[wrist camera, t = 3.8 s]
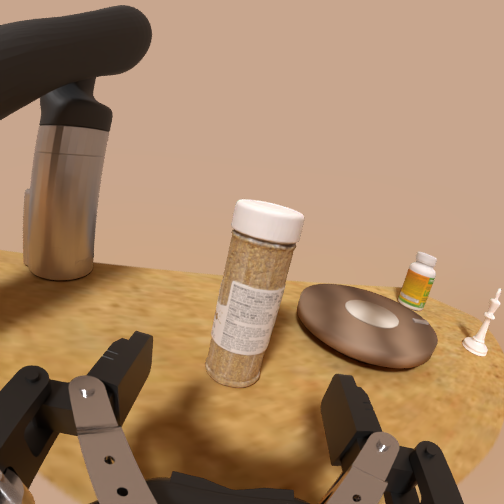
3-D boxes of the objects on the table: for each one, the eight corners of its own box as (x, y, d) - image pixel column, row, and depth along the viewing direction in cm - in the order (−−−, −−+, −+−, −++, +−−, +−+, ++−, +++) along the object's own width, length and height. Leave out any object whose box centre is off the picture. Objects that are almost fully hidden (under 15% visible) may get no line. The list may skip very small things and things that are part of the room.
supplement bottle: (420, 314, 44) (440, 261, 42) (394, 303, 47) (412, 251, 45) (423, 306, 48) (441, 258, 46) (399, 296, 51) (416, 249, 49)
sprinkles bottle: (213, 349, 25) (245, 196, 21) (263, 364, 24) (306, 210, 21) (195, 379, 20) (228, 198, 17) (254, 397, 20) (305, 217, 16)
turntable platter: (306, 357, 24) (312, 341, 24) (291, 284, 41) (294, 273, 41) (456, 371, 24) (463, 358, 24) (399, 306, 42) (403, 296, 41)
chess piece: (458, 344, 34) (484, 282, 32) (467, 338, 37) (491, 282, 34) (481, 359, 30) (510, 296, 27) (489, 352, 32) (514, 294, 30)
